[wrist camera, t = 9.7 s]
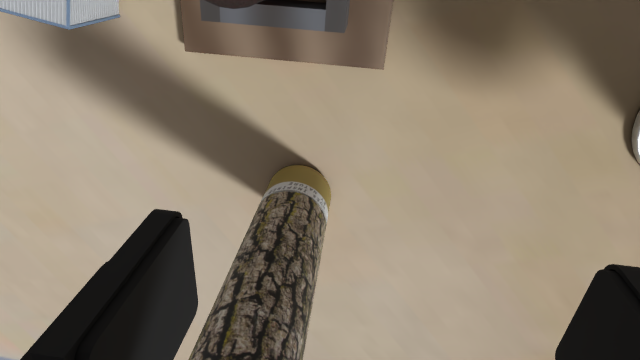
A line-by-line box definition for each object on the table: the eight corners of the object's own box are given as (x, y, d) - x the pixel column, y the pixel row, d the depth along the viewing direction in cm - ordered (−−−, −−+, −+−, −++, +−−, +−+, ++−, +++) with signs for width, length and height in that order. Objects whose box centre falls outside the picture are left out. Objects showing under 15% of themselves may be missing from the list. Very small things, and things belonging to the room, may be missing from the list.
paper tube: (261, 168, 43) (149, 382, 22) (323, 156, 42) (268, 374, 20) (280, 220, 46) (198, 453, 25) (338, 211, 45) (304, 452, 23)
